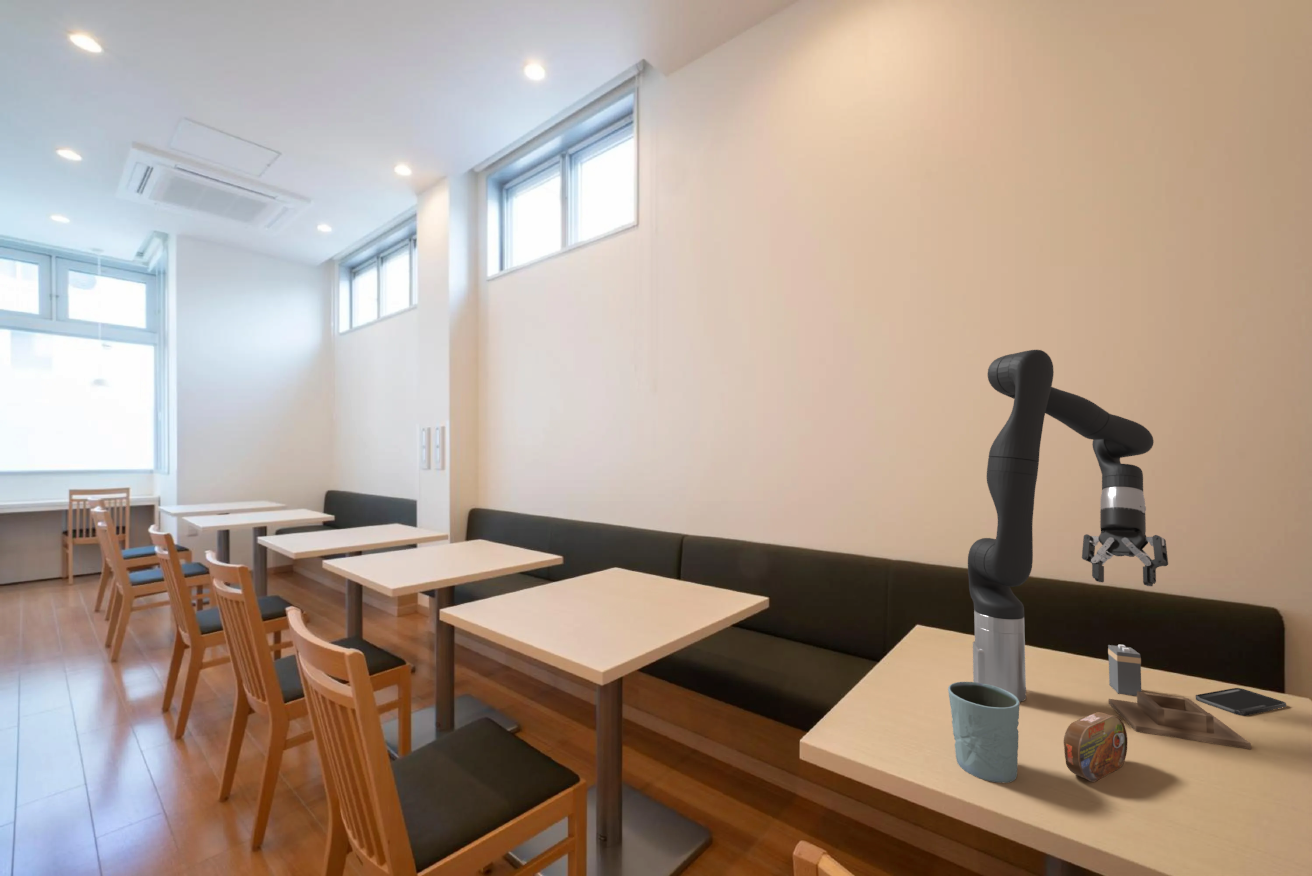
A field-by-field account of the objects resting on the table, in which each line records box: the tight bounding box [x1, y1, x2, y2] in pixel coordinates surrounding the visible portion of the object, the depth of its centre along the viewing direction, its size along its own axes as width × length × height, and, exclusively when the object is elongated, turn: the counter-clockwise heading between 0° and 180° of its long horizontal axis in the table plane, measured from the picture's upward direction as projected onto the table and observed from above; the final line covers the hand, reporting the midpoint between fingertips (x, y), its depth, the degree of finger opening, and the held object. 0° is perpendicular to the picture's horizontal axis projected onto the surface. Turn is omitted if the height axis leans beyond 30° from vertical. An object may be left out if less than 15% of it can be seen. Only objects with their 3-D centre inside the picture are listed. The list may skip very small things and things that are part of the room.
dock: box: [1108, 691, 1252, 750], centre depth 101 cm, size 16×12×4 cm
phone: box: [1195, 687, 1287, 717], centre depth 110 cm, size 8×1×15 cm
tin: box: [1063, 711, 1128, 783], centre depth 86 cm, size 15×3×8 cm, turn 116°
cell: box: [1107, 644, 1142, 697], centre depth 116 cm, size 4×5×10 cm
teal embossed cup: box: [947, 681, 1020, 784], centre depth 87 cm, size 10×10×12 cm
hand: (1123, 583), depth 112 cm, fingers open, 8 cm apart
